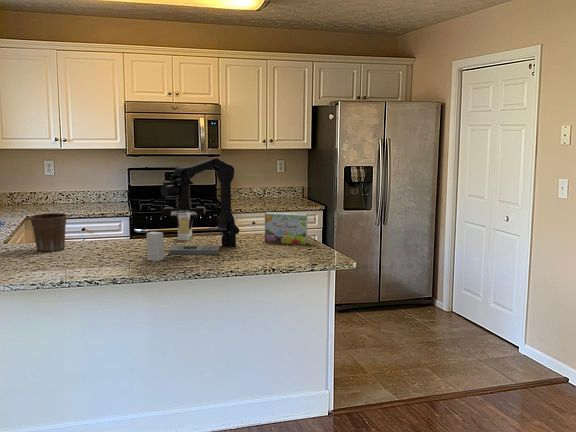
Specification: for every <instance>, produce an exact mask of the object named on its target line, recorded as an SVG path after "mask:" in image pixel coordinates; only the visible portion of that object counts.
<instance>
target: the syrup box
mask: <svg viewBox="0 0 576 432" xmlns="http://www.w3.org/2000/svg"><path fill="white" fill-rule="evenodd" d="M190 215H191V213H179V220H180V219H181V218H182V217H188V219H190ZM190 230H191V232H190V233H189V234H179V229H178V228H177V240H178V241H189V240H192V239H193V226H192V227H191V229H190Z"/></svg>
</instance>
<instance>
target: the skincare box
mask: <svg viewBox="0 0 576 432" xmlns="http://www.w3.org/2000/svg"><path fill="white" fill-rule="evenodd" d="M164 247H165V245H164V232H162V231H161V232H159V231H150V232H147V233H146V254H147V256H146V258H147V259H146V260H147V261H155V262H160V261H163V260H165V251H164Z"/></svg>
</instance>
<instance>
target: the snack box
mask: <svg viewBox="0 0 576 432" xmlns="http://www.w3.org/2000/svg"><path fill="white" fill-rule="evenodd" d="M264 242H265V243H272V242H273V243H274V244H275V243H276V244H291V245H303V246H304V245H306V244H307V243H308V213H295V212H294V213H291V212H277V211H276V212H273V211H271V212H270V211H267V212H265V213H264Z"/></svg>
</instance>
